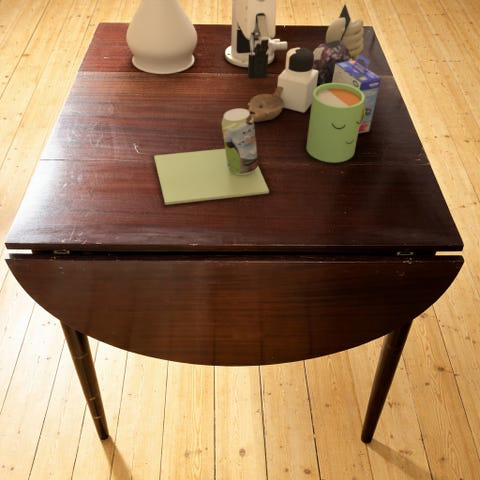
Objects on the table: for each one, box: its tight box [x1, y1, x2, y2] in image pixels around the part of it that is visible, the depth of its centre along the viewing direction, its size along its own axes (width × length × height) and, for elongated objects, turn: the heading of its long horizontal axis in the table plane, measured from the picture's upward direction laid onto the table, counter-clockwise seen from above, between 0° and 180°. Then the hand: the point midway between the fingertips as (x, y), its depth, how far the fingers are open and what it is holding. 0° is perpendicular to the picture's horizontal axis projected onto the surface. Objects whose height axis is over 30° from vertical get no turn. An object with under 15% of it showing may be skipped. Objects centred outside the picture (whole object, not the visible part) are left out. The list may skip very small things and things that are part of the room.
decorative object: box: [325, 4, 365, 61], centre depth 153 cm, size 13×10×10 cm
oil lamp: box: [247, 85, 284, 123], centre depth 136 cm, size 13×8×5 cm, turn 137°
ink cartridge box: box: [332, 54, 382, 135], centre depth 130 cm, size 10×6×14 cm, turn 27°
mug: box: [306, 83, 365, 163], centre depth 124 cm, size 13×10×12 cm
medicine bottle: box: [276, 47, 318, 114], centre depth 137 cm, size 7×7×12 cm
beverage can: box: [221, 107, 259, 175], centre depth 117 cm, size 6×7×12 cm
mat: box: [153, 148, 270, 206], centre depth 120 cm, size 20×16×1 cm
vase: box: [125, 0, 198, 75], centre depth 145 cm, size 17×17×25 cm
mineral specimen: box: [312, 40, 352, 86], centre depth 146 cm, size 10×10×10 cm
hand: (251, 64), depth 106 cm, fingers open, 9 cm apart
